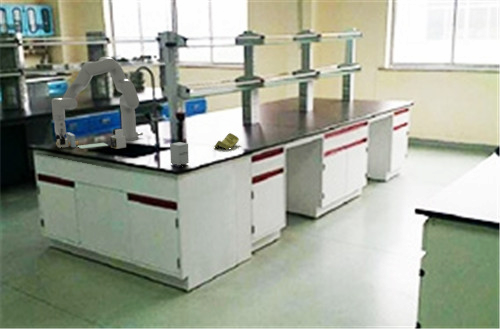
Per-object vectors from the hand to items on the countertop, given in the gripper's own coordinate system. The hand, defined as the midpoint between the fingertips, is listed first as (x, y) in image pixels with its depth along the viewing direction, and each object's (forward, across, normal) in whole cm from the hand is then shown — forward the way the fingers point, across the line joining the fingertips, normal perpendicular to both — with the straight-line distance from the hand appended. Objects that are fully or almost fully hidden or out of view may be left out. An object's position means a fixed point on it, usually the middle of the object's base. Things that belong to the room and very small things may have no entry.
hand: (60, 143), depth 352 cm
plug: (+2, 0, -4) cm, 5 cm away
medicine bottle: (+2, -22, -31) cm, 38 cm away
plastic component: (+2, -60, -91) cm, 109 cm away
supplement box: (+2, -87, -43) cm, 97 cm away
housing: (+2, 0, -7) cm, 7 cm away
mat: (+2, -9, -18) cm, 20 cm away
